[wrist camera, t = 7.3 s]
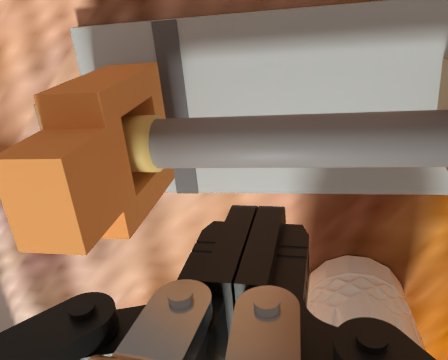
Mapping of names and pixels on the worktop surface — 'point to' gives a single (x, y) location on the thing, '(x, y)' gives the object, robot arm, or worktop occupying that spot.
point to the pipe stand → (290, 98)
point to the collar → (83, 164)
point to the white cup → (359, 294)
